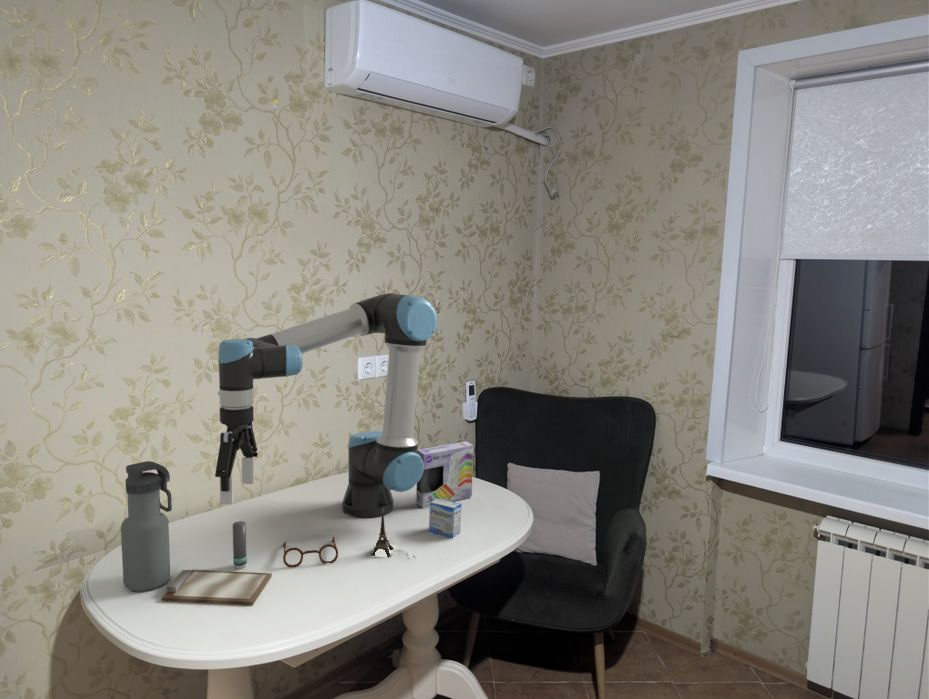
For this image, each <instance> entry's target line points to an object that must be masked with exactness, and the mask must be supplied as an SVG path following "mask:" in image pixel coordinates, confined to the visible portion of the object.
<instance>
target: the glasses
mask: <svg viewBox="0 0 929 699" xmlns="http://www.w3.org/2000/svg"><path fill="white" fill-rule="evenodd" d="M332 543H333V544H332ZM286 545H287V541H283V544H282V547H283V557H282V558H283V560H282V561H283V563H284V565H285V566H286V567H288V568H297V567H299V566H301V564H302V563H303V561H304V560H303V558H304V555H307V554H318V558H319V561H320V562H321V563H322V564H325V563H331V564H333V563H335V562H336V561H337V559H338V558H339V551H338V548H337V545H336V539H335V536H332V538H331V544H330V543H329V544H324V545H322V546H321V547H320V548H319V550H317V549H313V550H312V549H311V550H309V549H308V550H305V551H303V550H302V549H300V548H298V547H289V548H288V549H286V547H287V546H286ZM326 548H332V549H334V551H335V556H334V557H333V558H332V560H329V561H327V560H324V559H323V557H322V551H324V549H326ZM291 551H297V552H298V553H299V554H300V559H299V561H298V562H297V563H294V564H290V563H288V562H287V558H286V557H287V554H288V553H289V552H291ZM325 565H326V564H325ZM296 566H297V567H296Z"/></svg>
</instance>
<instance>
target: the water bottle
mask: <svg viewBox="0 0 929 699" xmlns="http://www.w3.org/2000/svg"><path fill="white" fill-rule="evenodd" d="M153 470H154V471H156V472H157V473H155V472H152V471H153ZM148 471H149V472H148ZM150 471H151V472H150ZM125 472H126V474H127V478H125V481H124V483H125V493H126V494H127V496H126V497H127V498H126V499H127V513H128V514H127V517H125V519H124V520H123V521H122V523H121V525H120V537H121V538H120V539H121V540H120V542H121V558H122V560H121V562H122V580H123V582H122V583H123V586H124V587H125V589H128V590H129V591H133V592H146V591H147V592H149V591H152V589H153V590H154V589H155V588H156V589H158V588H160V587H162V586H164V585H165V584H167V583H168V582H169V581H170V578H171V556H170V553H171V552H170V528H169V527H170V526H169V519H168V516H167V515H165V514H164V513H162V512H161V510H163V511H164V512H167V513H168V512H171V511H172V509H173V508H172V507H173V506H172V505H173V503H172V502H173V501H172V492H171V491H170V490H169V489H168V484H167V483H168V482H170V481H171V480H170V478H171V477H170V476H171V475H170V472H169V470H168V469H167V468H166V467H165V466H163V465H161V464H159V463H157V462H155V461H152V460H151V461H150V460H149V461H148V460H145V461H142V462H137V463H132V464H128V465H126V467H125ZM160 491H162V492H164V493H165V495H166V496H167V506H165V505H163V504H162V503H161V496H160V495H161V494H160V493H161V492H160Z"/></svg>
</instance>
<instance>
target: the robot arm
mask: <svg viewBox="0 0 929 699" xmlns="http://www.w3.org/2000/svg"><path fill="white" fill-rule="evenodd" d="M437 323H438V318H437V312H436V310H435V308H434V306H433V305H432V304H431V302H429V301H428V300H427V299H425V298H422V297H419V296H416V295H407V294H398V293H392V292H390V293H383V294H379V295H376V296H372V297H369V298H366V299H363V300H361V301H358V302H354V303H351V305H350V306H349V307H348V308H347V309H344V310H341V311H338V312H335V313H332V314H328V315H326V316H325V315H324V316H322V317H319V318H316V319H313V320H311V321H310V320H309V321H307V322H304V323H301V324H298V325H295V326H292V327H288V328H285V329H282V330H279V331H275V332H274V333H269V334H267V335H263V336H260V337H257V338H255V337H245V338H243V339H242V338H235V339H234V338H232V339H225V340H222V341H221V342H220V343H219V346H218V359H217V362H218V376H219V377H218V380H219V381H218V382H219V383H218V384H219V385H218V386H219V389H218V390H219V391H217V395H218V396H219V405H220V408H219V422H220V423H221V424H222V425H224V426H226V431H225V432H221V433H220V439H219V440H220V441H219V449H218V454H217V462H216V468H215V473H214V477H215V478H219V496H220V497H219V500H220V501H219V502H220V505H233V504H234V475H232V472H233V468H234V465H235V460H236V456H237V452H238V451H241V453H242V455H243V457H242V458H241V480H242V481H241V483H242V485H243V484H244V485H245V484H246V485H254V484H255V462H254V461H255V459H254V458H258V454H259V453H258V446H257V442H256V438H255V434H254V433H255V432H254V429H253V422H254V420H255V419H254V418H255V417H254V409H255V408H254V406H253V405H254V401H255V400H254V398H255V396H254V394H255V393H254V380H260V379H262V380H263V379H273V378H282V377H283V378H288V377H291V376H296V375H299V374H300V373H301V372H302V369H303V364H304V363H303V360H304V358H303V354H305V353H308V352H310V351H314V350H317V349H320V348H323V347H325V346H328V345H331V344H334V343H337V342H339V341H343V340H345V339H348V338H351V337H354V336H357V335H358V336H361V337H365V336H369V335H372V334H384V344H385V345H386V347H387V348H388V350H389V352H388V361H387V373H386V387H385V396H384V397H385V399H384V408H383V409H384V410H383V423H382V431H379V430H378V431H364V432H359V433H354V434H352V435H351V436H350V437H349V439H348V444H347V445H348V446H347V449H348V484H347V486H346V490H345V493H344V496H343V500H342V511H343V512H344V513H345V514H346V515H348V516H351V517H357V518H376V517H382V509H384V516H386V515H388V514H389V513H391V512H392V511H393V509H394V501H395V500H394V497H393V494H392V492H391V491H394V492H397V493H404V492H407V491H409V490H411V489H413V488H414V487H415V486H416V485H417V483H418V482H419V480H420V478H421V477H422V474H423V470H424V463H423V460H422V459H421V457H420V456H419V455H418V454H417V450H418V445H419V442H418V440H417V439H416V438H415V437H414V430H415V429H414V426H415V416H416V407H417V406H416V405H417V395H418V394H417V393H418V383H419V381H418V380H419V371H420V370H419V369H420V359H421V352H422V351H423V350H424V349H425V348H427V342H428V341H427V340H428V339H430V338H431V337H432V334H434V332H435V330H436V328H437Z"/></svg>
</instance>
